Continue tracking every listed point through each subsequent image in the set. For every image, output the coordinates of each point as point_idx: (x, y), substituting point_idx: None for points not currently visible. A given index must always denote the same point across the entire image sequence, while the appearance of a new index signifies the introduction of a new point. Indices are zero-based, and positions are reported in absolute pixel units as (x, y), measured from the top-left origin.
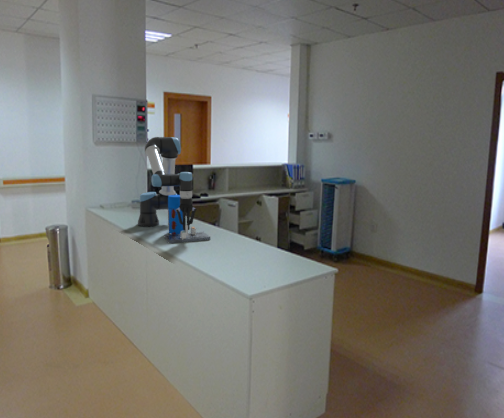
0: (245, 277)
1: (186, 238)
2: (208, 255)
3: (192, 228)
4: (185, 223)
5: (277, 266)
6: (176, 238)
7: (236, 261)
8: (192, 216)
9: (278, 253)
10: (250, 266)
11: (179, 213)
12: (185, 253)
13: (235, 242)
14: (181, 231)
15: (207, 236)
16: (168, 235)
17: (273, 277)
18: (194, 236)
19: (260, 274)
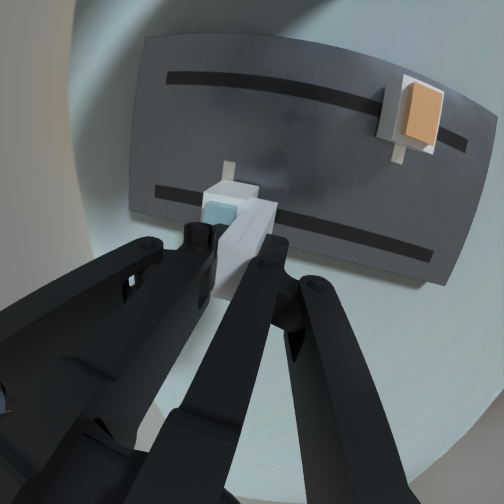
0: (243, 486)
1: None
2: (246, 429)
3: (402, 128)
4: (201, 310)
5: None
6: (186, 182)
7: (286, 468)
8: (306, 430)
9: (418, 464)
10: (289, 481)
11: (26, 389)
12: (177, 381)
13: (467, 370)
14: (207, 207)
15: (439, 266)
16: (166, 59)
17: (283, 496)
18: (360, 204)
19: (275, 491)
